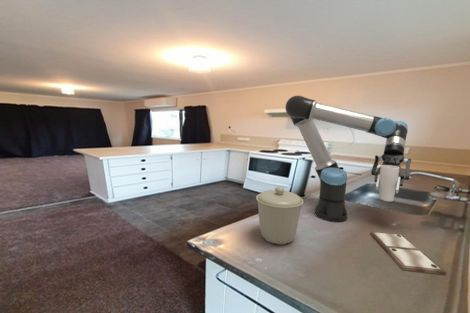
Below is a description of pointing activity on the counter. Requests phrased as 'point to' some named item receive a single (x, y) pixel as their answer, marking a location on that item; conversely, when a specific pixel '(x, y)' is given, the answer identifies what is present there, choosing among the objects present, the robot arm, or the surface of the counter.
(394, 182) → the white cup
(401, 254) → the coaster board
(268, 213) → the canister
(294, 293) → the counter surface
